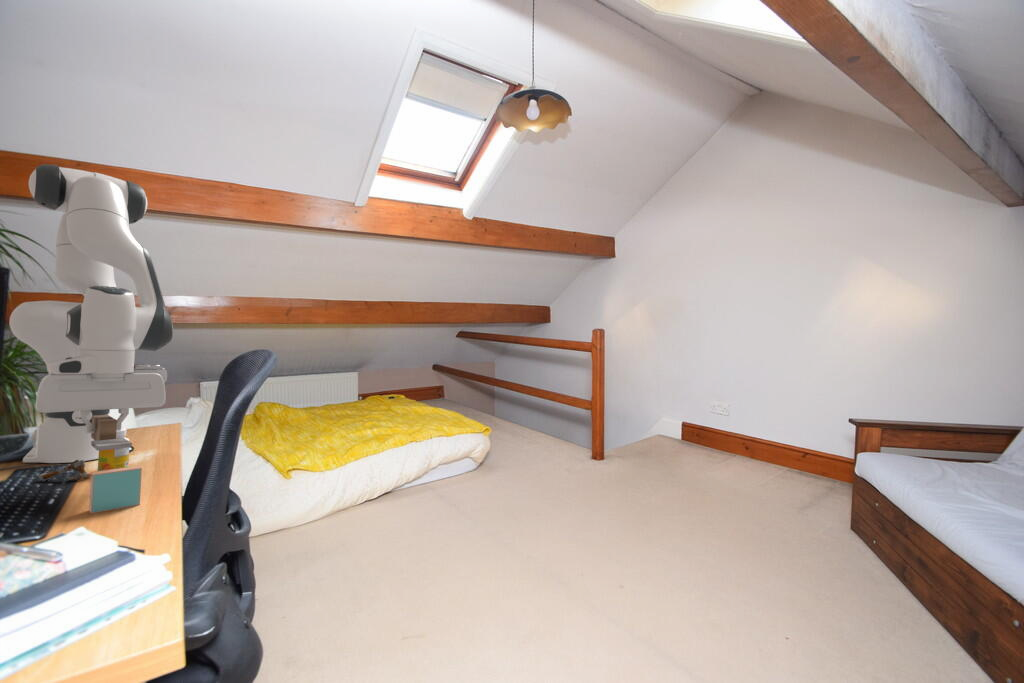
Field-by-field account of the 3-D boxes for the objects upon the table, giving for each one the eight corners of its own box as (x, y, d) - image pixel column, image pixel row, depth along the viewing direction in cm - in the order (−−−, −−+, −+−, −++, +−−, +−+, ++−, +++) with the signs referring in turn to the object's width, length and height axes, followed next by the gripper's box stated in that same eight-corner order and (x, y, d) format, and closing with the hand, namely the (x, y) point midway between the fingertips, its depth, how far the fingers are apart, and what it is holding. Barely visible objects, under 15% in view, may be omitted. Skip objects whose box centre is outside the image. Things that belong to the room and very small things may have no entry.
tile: (88, 510, 85) (90, 472, 85) (137, 502, 91) (139, 465, 91) (90, 513, 84) (92, 474, 84) (139, 505, 89) (141, 468, 89)
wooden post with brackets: (89, 477, 101) (80, 458, 101) (47, 493, 99) (37, 474, 99) (94, 475, 103) (85, 456, 103) (53, 491, 101) (43, 472, 101)
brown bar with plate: (83, 437, 99) (84, 416, 99) (113, 435, 102) (115, 414, 102) (97, 450, 87) (98, 426, 87) (131, 447, 91) (132, 423, 91)
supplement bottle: (91, 473, 107) (94, 430, 107) (119, 467, 112) (121, 426, 112) (106, 476, 105) (108, 432, 105) (133, 471, 110) (135, 429, 110)
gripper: (163, 363, 107) (160, 424, 107) (36, 363, 92) (32, 434, 92) (171, 365, 103) (168, 428, 103) (39, 364, 88) (35, 439, 88)
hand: (103, 431), depth 97 cm, fingers closed on brown bar with plate, 2 cm apart
